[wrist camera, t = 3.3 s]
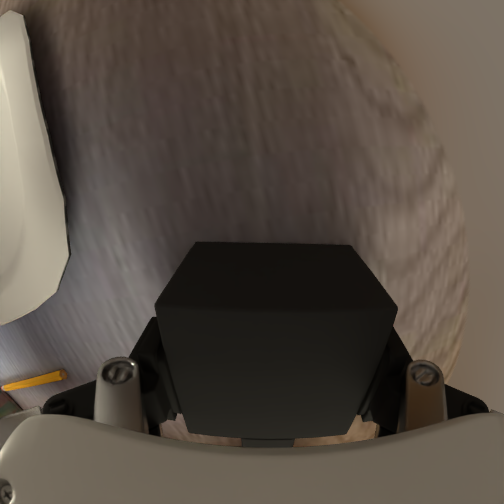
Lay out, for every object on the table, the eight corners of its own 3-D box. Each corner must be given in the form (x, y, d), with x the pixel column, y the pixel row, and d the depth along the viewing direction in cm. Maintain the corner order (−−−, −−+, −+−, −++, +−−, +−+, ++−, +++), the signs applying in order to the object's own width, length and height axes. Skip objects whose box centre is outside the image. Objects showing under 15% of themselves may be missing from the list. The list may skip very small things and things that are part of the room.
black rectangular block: (195, 241, 10) (152, 304, 6) (351, 244, 10) (399, 307, 6) (210, 382, 13) (195, 452, 9) (322, 384, 13) (335, 454, 9)
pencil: (2, 384, 18) (-1, 387, 17) (61, 367, 14) (57, 373, 14) (6, 389, 18) (4, 392, 18) (69, 375, 14) (64, 381, 14)
